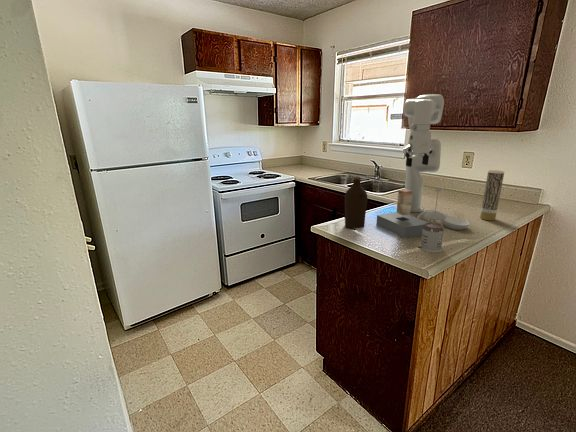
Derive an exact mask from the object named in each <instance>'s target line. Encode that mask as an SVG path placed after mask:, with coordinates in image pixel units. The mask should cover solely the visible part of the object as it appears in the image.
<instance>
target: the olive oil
mask: <svg viewBox="0 0 576 432" xmlns="http://www.w3.org/2000/svg"><path fill="white" fill-rule="evenodd" d="M367 206H368V193H367V191H366V190H365V188H364V187H362V185H361V176H360V175H359V176H353V180H352V185H351V186H350V187H349V188H348V189H347V190H346V191H345V193H344V227H345V228H346V229H349V230H354V231H357V229H361V228H364V227H365V223H366V214H367Z"/></svg>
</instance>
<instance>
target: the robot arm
mask: <svg viewBox="0 0 576 432" xmlns="http://www.w3.org/2000/svg"><path fill="white" fill-rule="evenodd" d="M444 105H445V99H444V96H443V95H442V94H440V93H439V94H436V93H435V94H434V93H433V94H422V95H419V96H417V97H413V98H407V99H406V101H405V102H404V105H403V109H402V110H403V114H404V116H405V117H407V120H408V121H407V123H408V127H409V128H408V129H409V131H410V133H409V138H408V144H407V145H406V146H405V147H403V148H402V151H403V155H404V157H405V159H406V160H405V183H404V189H407V190H411V191H412V200H411V210H410V213H421V212H423V211H424V207H422V206H421V205H422V199H423V198H422V197H423V188H424V182H425V180H424V177H423V176H422V174H421V173H436V172H439V169H440V166H441V154H442V153H441V150H442V147H441V146H442V143H441V140H440V139H438V138H432V132H431V131H430V129H431V125H435V124H439V123H440V122H441V120H442V117H443V111H444Z"/></svg>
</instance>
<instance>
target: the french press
mask: <svg viewBox="0 0 576 432" xmlns="http://www.w3.org/2000/svg"><path fill="white" fill-rule="evenodd" d="M441 191H442V190H441V188H439V187H438V188H436V189H435V192H437V194H436V203H435V212H428V213H426V214H423V216H424V217H425V218H426V219H429V223H425V224H424V226H425V227H423V229H422V233H423V234H422V235H421V237H420V238H421V239H420V246H418V249H420V250H422V251H424V252H428V253H441V252H443V251H444V250H445V249H444V247H443V246H442V245H443V239H444V233H445V230H444V225H442V224H441V223H438V222H437V223H436V221H441V220H444V219H445V218H446V216H445V215H443V214H441V213H442V212H441V213H439V212H440V211H438V212H436V211H437V205H438V204H437V203H438V197H439V193H440V192H441ZM432 221H433V222H432Z"/></svg>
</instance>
